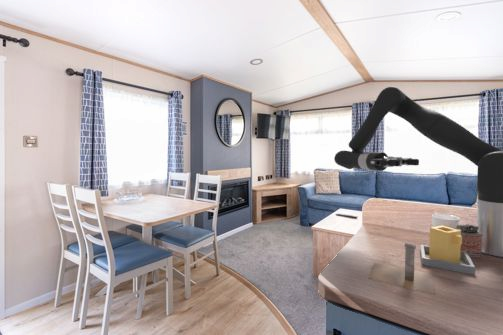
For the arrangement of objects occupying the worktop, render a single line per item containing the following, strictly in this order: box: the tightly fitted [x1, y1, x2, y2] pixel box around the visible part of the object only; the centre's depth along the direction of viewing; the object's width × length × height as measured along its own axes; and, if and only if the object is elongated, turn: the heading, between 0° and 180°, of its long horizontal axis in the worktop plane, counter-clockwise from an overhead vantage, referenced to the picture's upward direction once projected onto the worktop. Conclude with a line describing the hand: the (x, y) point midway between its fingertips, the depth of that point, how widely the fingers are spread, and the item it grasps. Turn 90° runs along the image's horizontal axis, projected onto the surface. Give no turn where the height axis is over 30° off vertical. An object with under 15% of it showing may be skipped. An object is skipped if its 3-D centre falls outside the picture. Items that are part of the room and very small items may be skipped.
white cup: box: [431, 213, 461, 230], centre depth 89 cm, size 8×8×10 cm
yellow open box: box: [428, 226, 462, 263], centre depth 72 cm, size 7×5×10 cm
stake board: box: [368, 242, 436, 295], centre depth 65 cm, size 14×11×10 cm
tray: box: [419, 244, 476, 276], centre depth 73 cm, size 12×12×3 cm
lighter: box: [457, 223, 483, 258], centre depth 79 cm, size 8×3×10 cm, turn 84°
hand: (408, 162), depth 85 cm, fingers open, 8 cm apart
